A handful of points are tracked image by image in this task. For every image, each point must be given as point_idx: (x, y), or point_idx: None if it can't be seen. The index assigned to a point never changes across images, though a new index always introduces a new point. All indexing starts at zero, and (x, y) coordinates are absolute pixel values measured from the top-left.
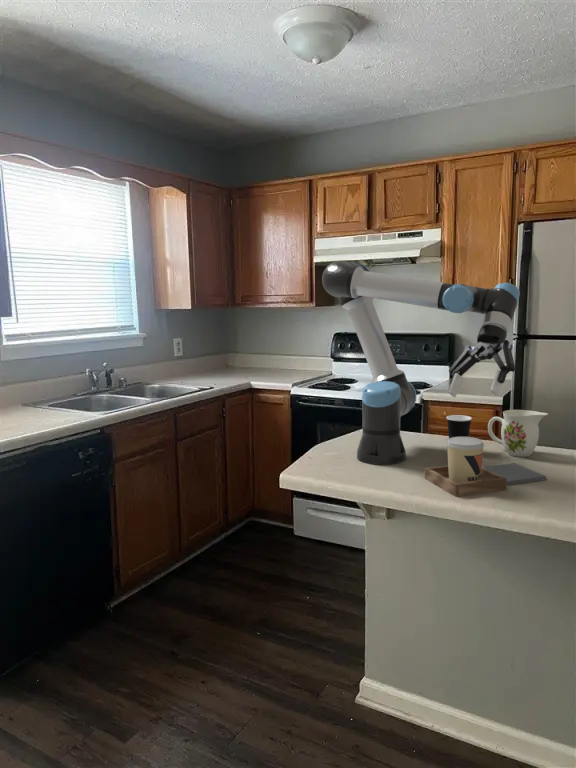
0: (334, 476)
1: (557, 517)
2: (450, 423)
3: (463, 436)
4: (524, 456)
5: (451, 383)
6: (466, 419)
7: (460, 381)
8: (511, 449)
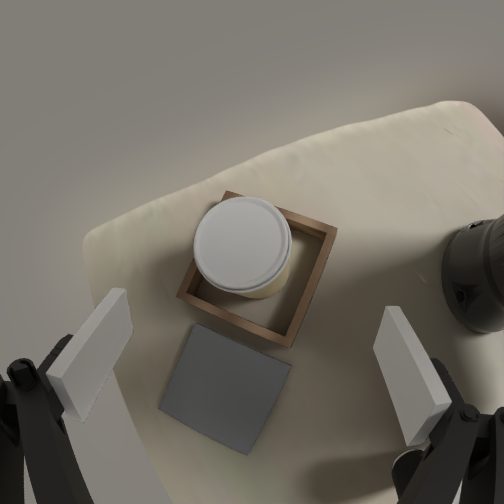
0: (435, 133)
1: (92, 244)
2: None
3: (401, 474)
4: None
5: (419, 342)
6: None
7: (401, 417)
8: None
